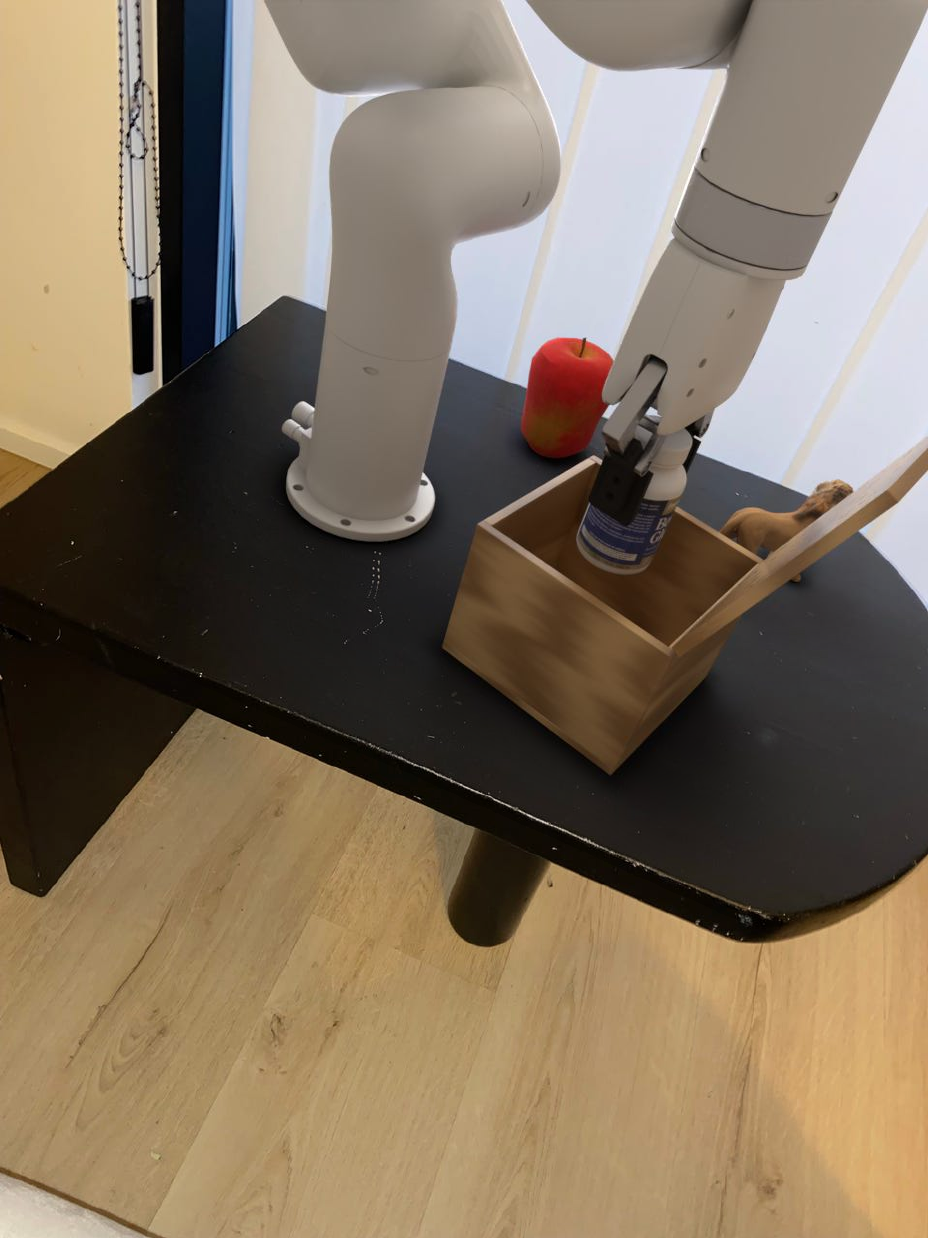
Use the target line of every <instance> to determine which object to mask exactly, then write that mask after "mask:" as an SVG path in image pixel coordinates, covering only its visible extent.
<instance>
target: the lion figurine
mask: <svg viewBox="0 0 928 1238" xmlns="http://www.w3.org/2000/svg"><path fill="white" fill-rule="evenodd" d="M854 491H855V490H854V487H852V486H851V484H849V483H848V482H845V481H843V480H841V479H839V478H836V479H834V480H833V479H832V480H831V481H827V480H826V481H823V482H820V483H818V484H817V486H816V487H815V488H814V489H813V491H812V492H811V494H810V495H809V496H808V497H807V498H806V500H805V501H804V503H802V504H801V505H800V507H799V508H797V510H795V511H790V512H771V511H768V510H765V509H763V508H759V507H752V506H751V507H744V508H741V509H739V510H737V511H735V512H734V513H733V514H732V515H731V516H730V517H729V519H728V520H727V522H726V523H725V524H724V525H723V526H722V527H721V529H720V530H719V531H718V532H719V533H721V534H722V535H724V536H726V537H727V538H729V539H730V540H732V541H733V540H734V539H736V543H737V544H739V545H740V546H742V547H743V548H745V549H747V550H748V551H750V552H751V553H753V554H755V555H756V554H757V553H758V551H759V549H760V548H762V549H764V550H766V551H769V553H768V555H767V557H768V556H769V555H771V554H772V553H773V552H775V551H776V550H777V549H779V548H780V547H781V546H782V545H784V544H785V543H786V542H788V541H789V540H790V539H792V538H793V537H794V536H796V535H797V534H798V533H800V532H801V531H802V530H804V529H805V528H806V527H808V526H809V525H810V524H812V523H813V522H814V521H816V520H817V519H818V518H820V517H821V516H822V515H824V514H825V513H826V512H827V511H829V510H830V509H831V508H833V507H834V506H835V505H837V504H838V503H839V502H841V501H842V500H843V499H845V498H846V497H847V496H849V495H850V494H851V493H853V492H854ZM801 578H802V577H801V573H799V574H797V575H796V576H794V577H793V578H792V579H790V581H793V582H794V583H798V582H800V581H801Z"/></svg>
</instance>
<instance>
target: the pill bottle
mask: <svg viewBox="0 0 928 1238" xmlns="http://www.w3.org/2000/svg"><path fill="white" fill-rule="evenodd" d="M648 415H649V416H651V417H652V418H654V419H656V420H657V421H659V422H660V420H661V417H662V416H660V415H654V414H648ZM652 434H653V433H651V432H649V431H648V430H646V429H644V428H642V427H641V426H639V425H637V427H636V430H635V435H636V436H635V438H636V439H638V440H639V441H641V444H642V447H643V450H644V448H645V446H646V445H647V443H648V441H649V439H650V437H651V435H652ZM691 446H692V437H691V435H690V434H689V432H688V431H687V430H686V429H685V428H683V429H681V430H679V431H678V432H675V433H672V434H668V436H667V438H666V440H665V441H664V443H663V445H662V447H661V449H660V451H659V452H658V454H657V456H656V458H655V460H654V461H653V463H652V465H651V467H650V469H649V471H651V472H652V473H654V475H653V477H652V479H651V482H650V484H649V486H648V489H647V491H646V493H645V496H644V498H643V500H642V503H641V505H640V507H639V510H638V512H637V515H636V517H635V519H634V521H633V522H632V523H631V524H629V525H628V526H624V525H622V524H620V523H619V522H617V521H616V520H614V519H612V518H611V517H609V516H608V515H606V514H605V513H603V512H601V511H600V510H598V509H597V508H595V507H594V506H592V505H591V504H590V503H589V505H588V507H587V510H586V513H585V515H584V518H583V520H582V523H581V525H580V528H579V531H578V533H577V538H576V541H577V546H578V549H579V551H580V552H581V554H582V555H583V556H584V558H585V559H586V560H587V561H589V562H590V563H591V564H593V565H594V566H596V567H598V568H600V569H602V570H604V571H607V572H610V573H614V574H621V575H631V574H637V573H639V572H642V571H643V570H645V569H646V568H647V567H648V565H649V564H650V562H651V560H652V559H653V556H654V554H655V552H656V550H657V548H658V546H659V543H660V541H661V539H662V537H663V535H664V533H665V531H666V528H667V526H668V524H669V522H670V520H671V518H672V515H673V513H674V511H675V509H676V506H677V507H678V504H679V503H680V500H681V498H682V496H683V494H684V491H685V488H686V487H687V481H688V478H687V475H686V472H685V469H684V467H683V465H682V464H683V463H684V462H685V460H686V458H687V456H688V453H689V451H690V449H691Z"/></svg>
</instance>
